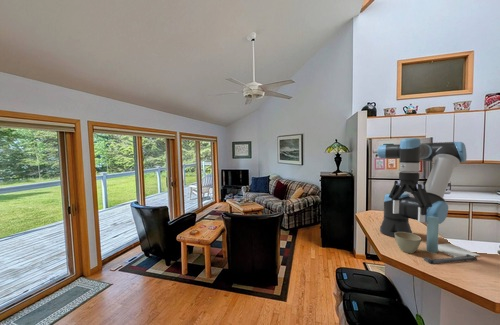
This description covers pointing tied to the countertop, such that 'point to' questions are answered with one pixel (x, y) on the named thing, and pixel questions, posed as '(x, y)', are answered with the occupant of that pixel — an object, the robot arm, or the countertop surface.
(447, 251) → the coaster
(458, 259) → the rail
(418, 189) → the robot arm
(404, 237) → the beige bowl
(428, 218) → the dowel
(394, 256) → the countertop surface
